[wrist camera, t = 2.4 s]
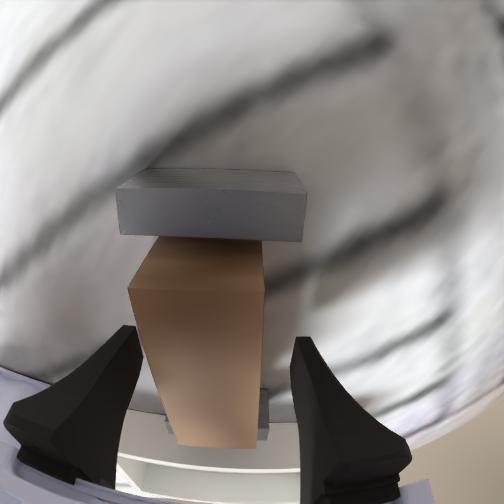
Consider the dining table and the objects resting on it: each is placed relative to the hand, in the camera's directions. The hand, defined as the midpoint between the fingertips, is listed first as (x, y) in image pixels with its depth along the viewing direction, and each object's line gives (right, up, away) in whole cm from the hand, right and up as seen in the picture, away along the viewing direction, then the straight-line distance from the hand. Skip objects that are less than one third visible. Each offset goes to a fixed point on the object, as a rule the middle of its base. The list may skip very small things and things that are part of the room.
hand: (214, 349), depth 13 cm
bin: (-1, -13, +9) cm, 16 cm away
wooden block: (0, +1, +2) cm, 2 cm away
